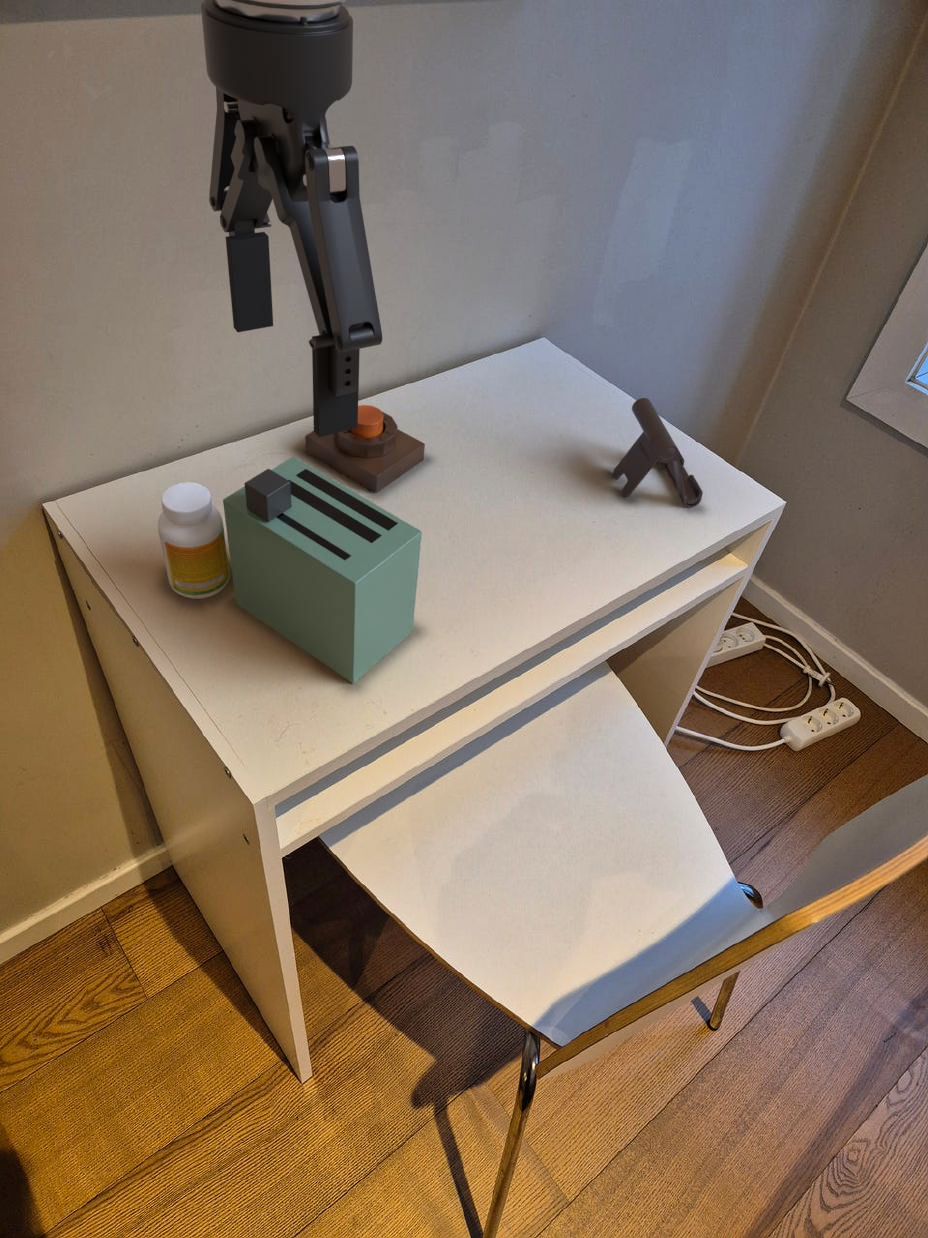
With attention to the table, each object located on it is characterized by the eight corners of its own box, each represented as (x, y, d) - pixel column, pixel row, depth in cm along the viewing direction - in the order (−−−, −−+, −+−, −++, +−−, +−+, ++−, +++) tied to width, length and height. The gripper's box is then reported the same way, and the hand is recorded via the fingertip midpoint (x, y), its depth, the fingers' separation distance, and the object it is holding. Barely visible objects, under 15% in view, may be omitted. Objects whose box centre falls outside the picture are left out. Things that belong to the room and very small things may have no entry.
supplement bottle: (240, 586, 79) (230, 503, 72) (185, 608, 76) (169, 525, 69) (213, 551, 81) (201, 469, 74) (158, 572, 79) (141, 488, 72)
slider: (246, 508, 68) (243, 482, 66) (270, 493, 69) (268, 467, 67) (268, 522, 67) (266, 496, 65) (292, 507, 68) (290, 481, 67)
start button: (341, 428, 91) (341, 414, 89) (364, 414, 93) (364, 400, 91) (367, 443, 89) (367, 428, 88) (389, 428, 92) (390, 414, 90)
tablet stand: (698, 509, 94) (723, 445, 88) (631, 511, 92) (651, 447, 86) (671, 459, 99) (692, 397, 93) (606, 461, 98) (624, 397, 92)
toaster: (235, 603, 77) (222, 498, 68) (298, 558, 82) (293, 455, 73) (353, 684, 72) (355, 583, 64) (412, 631, 77) (422, 530, 68)
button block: (305, 452, 93) (304, 421, 90) (354, 422, 98) (355, 391, 95) (376, 493, 90) (377, 462, 87) (423, 460, 94) (426, 429, 91)
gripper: (471, 75, 38) (431, 465, 53) (253, -60, 51) (271, 283, 67) (313, 84, 35) (319, 496, 50) (125, -62, 48) (175, 298, 64)
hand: (292, 375), depth 58 cm, fingers open, 13 cm apart
